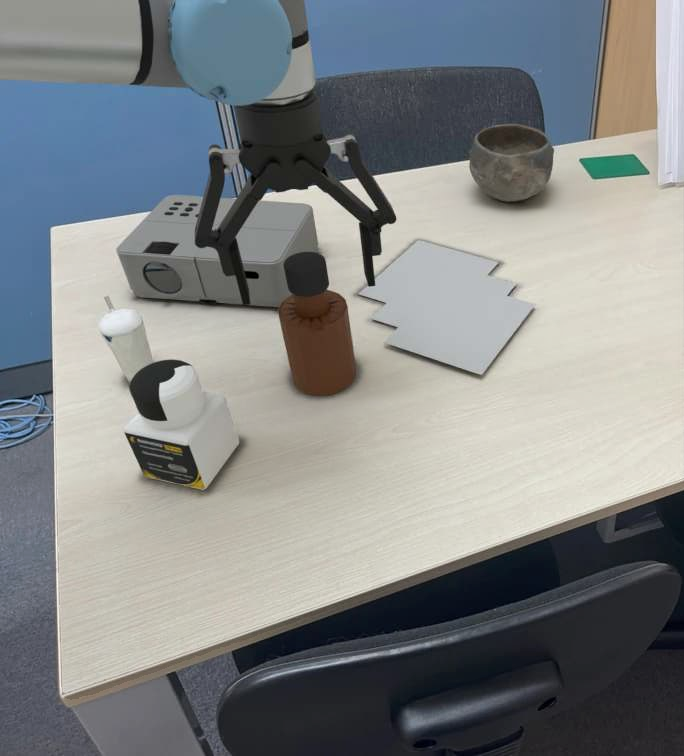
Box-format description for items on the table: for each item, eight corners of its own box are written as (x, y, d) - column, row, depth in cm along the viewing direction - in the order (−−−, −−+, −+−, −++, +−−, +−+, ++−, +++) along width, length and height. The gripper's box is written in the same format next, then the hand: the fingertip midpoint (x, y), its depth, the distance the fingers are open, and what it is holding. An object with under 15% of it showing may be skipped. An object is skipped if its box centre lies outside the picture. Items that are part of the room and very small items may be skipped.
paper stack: (322, 326, 93) (321, 321, 93) (418, 240, 111) (418, 236, 110) (481, 379, 86) (481, 374, 86) (557, 278, 104) (558, 274, 103)
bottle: (296, 401, 83) (276, 310, 74) (290, 361, 88) (270, 272, 79) (360, 389, 84) (348, 299, 76) (351, 351, 90) (338, 263, 81)
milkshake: (152, 356, 88) (126, 288, 81) (168, 379, 85) (143, 310, 78) (113, 370, 86) (84, 302, 79) (128, 394, 83) (99, 325, 76)
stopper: (296, 329, 78) (285, 276, 74) (292, 307, 81) (281, 254, 77) (336, 323, 79) (328, 270, 75) (331, 301, 82) (322, 249, 78)
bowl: (461, 208, 119) (460, 151, 112) (480, 169, 130) (481, 115, 124) (543, 218, 117) (547, 160, 111) (555, 178, 129) (560, 123, 122)
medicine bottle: (143, 477, 73) (103, 391, 65) (182, 430, 79) (150, 345, 71) (205, 492, 72) (172, 406, 64) (241, 442, 77) (215, 358, 69)
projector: (181, 239, 109) (166, 192, 104) (322, 249, 108) (314, 202, 103) (129, 301, 96) (109, 251, 91) (288, 313, 95) (278, 263, 90)
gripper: (401, 67, 70) (412, 255, 84) (128, 86, 63) (190, 286, 77) (418, 94, 64) (427, 290, 78) (121, 118, 58) (189, 326, 72)
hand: (309, 288), depth 78 cm, fingers open, 13 cm apart
